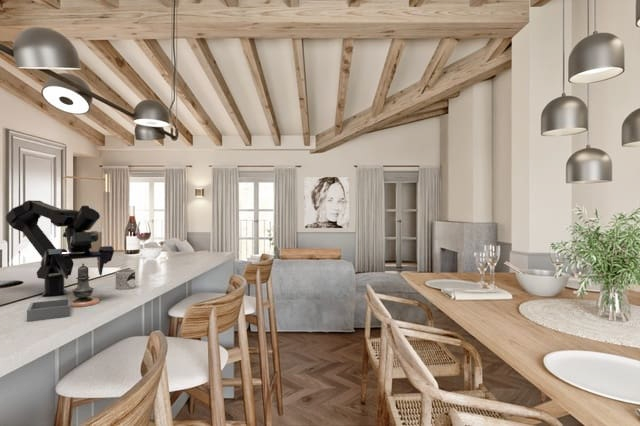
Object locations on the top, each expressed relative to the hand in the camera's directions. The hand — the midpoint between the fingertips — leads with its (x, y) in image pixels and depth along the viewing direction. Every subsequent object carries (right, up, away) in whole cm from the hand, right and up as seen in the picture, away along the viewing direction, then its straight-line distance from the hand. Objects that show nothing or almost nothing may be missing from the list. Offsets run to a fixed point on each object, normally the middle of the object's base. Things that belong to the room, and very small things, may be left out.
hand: (84, 276), depth 115 cm
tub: (-3, -9, -11) cm, 14 cm away
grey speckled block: (0, -9, +26) cm, 28 cm away
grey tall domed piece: (-1, -8, +1) cm, 8 cm away
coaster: (-1, -9, +1) cm, 9 cm away
